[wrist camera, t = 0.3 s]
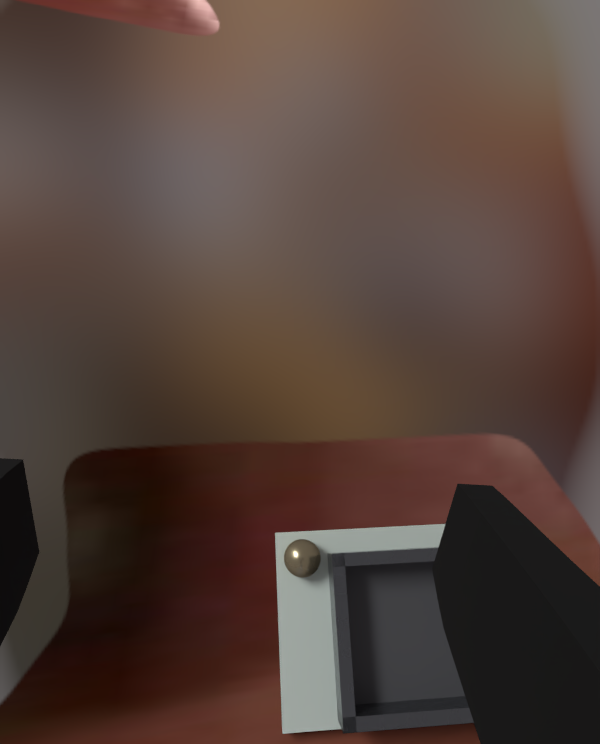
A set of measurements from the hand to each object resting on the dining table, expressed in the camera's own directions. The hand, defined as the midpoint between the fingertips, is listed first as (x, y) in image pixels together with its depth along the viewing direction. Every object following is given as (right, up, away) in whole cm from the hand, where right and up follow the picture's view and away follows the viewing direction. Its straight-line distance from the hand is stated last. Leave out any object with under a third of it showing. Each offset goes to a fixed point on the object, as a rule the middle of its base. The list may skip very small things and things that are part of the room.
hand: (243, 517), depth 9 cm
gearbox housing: (+6, -14, +28) cm, 32 cm away
